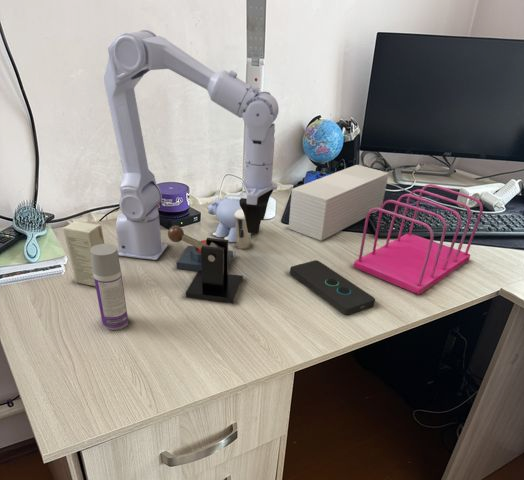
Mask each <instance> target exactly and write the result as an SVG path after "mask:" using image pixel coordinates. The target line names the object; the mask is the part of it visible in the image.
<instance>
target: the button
mask: <svg viewBox="0 0 524 480" xmlns="http://www.w3.org/2000/svg"><path fill="white" fill-rule="evenodd" d="M199 241H200V242H202V243H205V244H206V239H204V240H203V239H202V240H199ZM197 250H198V252H200V253H201V249H199V248H197Z"/></svg>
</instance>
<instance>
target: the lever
mask: <svg viewBox="0 0 524 480" xmlns="http://www.w3.org/2000/svg"><path fill="white" fill-rule="evenodd" d="M167 230H168V231H167V237H168V239H169V240H170V241H171V242H173V243H179V242H184V243H186V244H188V245H190V246H195V247H197V248H199V249H201V247H202V246H208V247H217V248H224V247H222V246H220V245H217V244H215V243H213V242H212V243H211V244H210V246H209V245H207V244H205V243H202V242H200V241H201V240H198V239H196V238H193V236H192V237H191V236H189V235H187V234H185V232H184V229H183V228H182V227H181V226H179V225H172V226H170V227H169V228H168V229H167Z"/></svg>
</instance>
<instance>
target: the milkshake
mask: <svg viewBox="0 0 524 480" xmlns="http://www.w3.org/2000/svg"><path fill="white" fill-rule="evenodd" d="M234 218H235V228H236V242H235V243H236V247H237V248H238V249H241V250H246V249H249V248H250V246H251V236H252V234H251V233H248V230H247V226H246V220H245V216H244V213H243V210H242V209H239V210H237V211H236V212H235V214H234Z"/></svg>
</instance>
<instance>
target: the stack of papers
mask: <svg viewBox="0 0 524 480" xmlns="http://www.w3.org/2000/svg"><path fill="white" fill-rule="evenodd" d="M389 174H390V172H387V171H383V170H379V169H375V168H372V167H367V166H364V165H361V164H355V165H352V166H350V167H346V168H344V169H341V170H338V171H336V172H334V173H330V174H328V175H325V176H322V177H320V178H317V179H314V180H312V181H309V182H307V183H304V184H301V185H298V186H296V187H293V188H291V194H290V195H291V196H290V205H289V207H290V208H289V218H288V220H289V222H288V227H287V228H288V230H291V231H294V232H297V233H299V234H302V235H304V236H307V237H310V238H312V239H316V240H318V241H320V242H321V241H324V240H326V239H327V238H329V237H331V236H333V235H335V234H337V233H339V232H341V231H343V230H345V229H346V228H348V227H350V226H352V225H354V224H356V223H358V222H360V221H362V220H364V219H366V216H367V213H368V212H369V211H370V210H371V209H373V208H381V206H382V204H383V203H384V200H385V193H386V189H387V184H388V178H389ZM377 212H378V211H373V212H372V213H374V214H376V213H377Z"/></svg>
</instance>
